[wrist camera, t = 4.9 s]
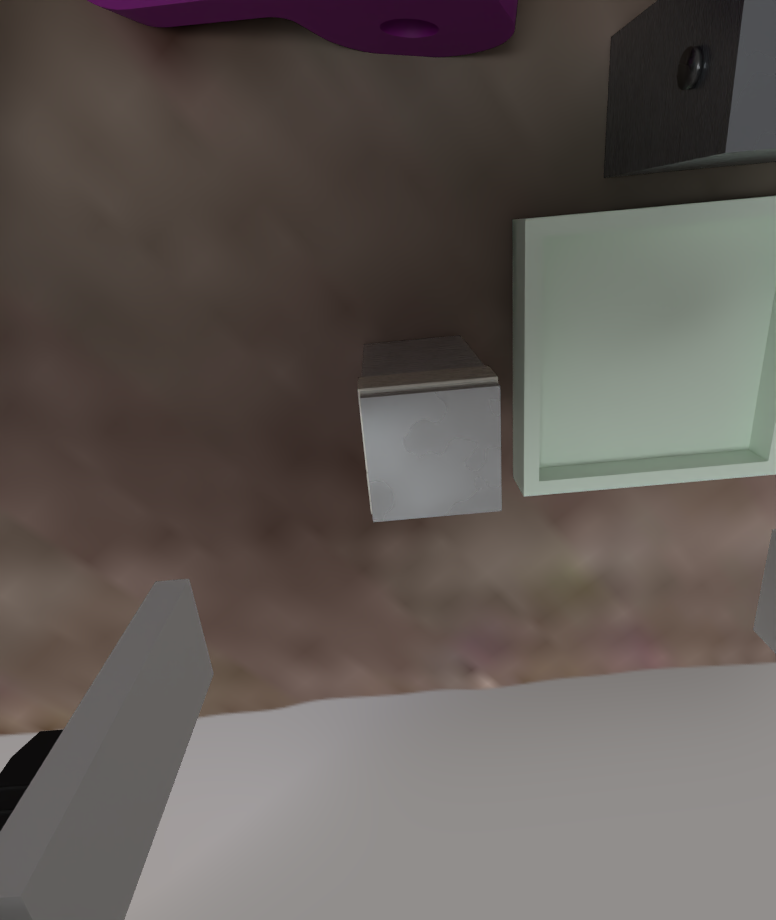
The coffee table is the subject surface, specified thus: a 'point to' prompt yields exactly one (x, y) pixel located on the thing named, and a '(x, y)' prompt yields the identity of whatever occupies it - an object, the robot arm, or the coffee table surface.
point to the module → (429, 429)
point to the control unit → (692, 87)
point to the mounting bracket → (351, 21)
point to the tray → (644, 346)
